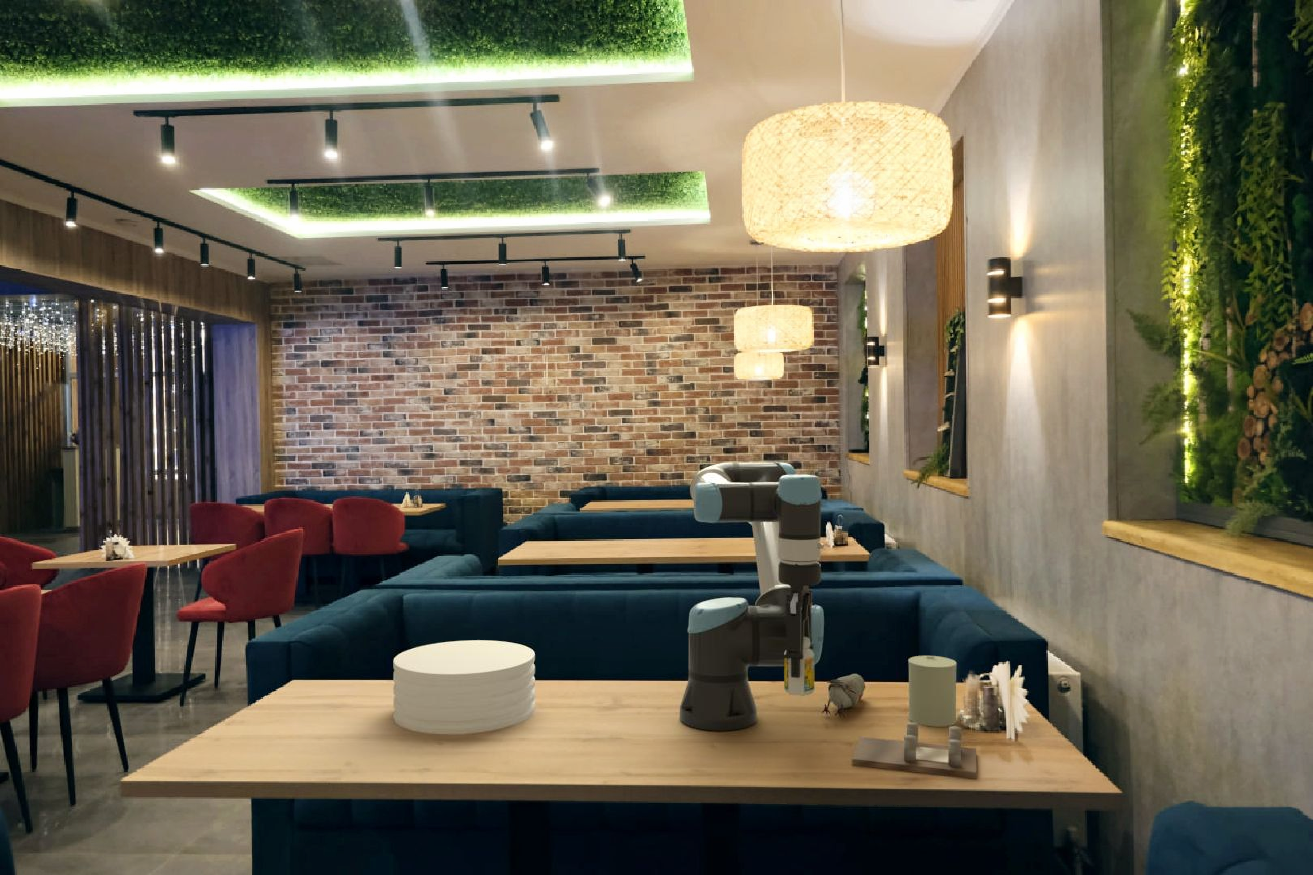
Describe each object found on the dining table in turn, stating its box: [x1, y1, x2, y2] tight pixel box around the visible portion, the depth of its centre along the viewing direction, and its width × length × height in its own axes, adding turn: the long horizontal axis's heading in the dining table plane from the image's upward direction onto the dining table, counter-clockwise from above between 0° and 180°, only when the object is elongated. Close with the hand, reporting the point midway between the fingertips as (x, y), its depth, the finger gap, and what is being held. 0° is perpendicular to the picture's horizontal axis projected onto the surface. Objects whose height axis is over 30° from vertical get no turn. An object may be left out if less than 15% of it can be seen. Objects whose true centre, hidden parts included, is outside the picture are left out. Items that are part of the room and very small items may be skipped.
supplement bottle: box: [783, 637, 815, 696], centre depth 168 cm, size 5×5×10 cm
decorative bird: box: [821, 673, 866, 719], centre depth 192 cm, size 5×16×8 cm, turn 148°
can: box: [907, 655, 958, 728], centre depth 184 cm, size 9×9×12 cm
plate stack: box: [392, 639, 536, 735], centre depth 190 cm, size 28×28×12 cm
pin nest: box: [851, 721, 977, 780], centre depth 162 cm, size 20×12×5 cm, turn 71°
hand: (799, 689), depth 169 cm, fingers closed on supplement bottle, 5 cm apart
